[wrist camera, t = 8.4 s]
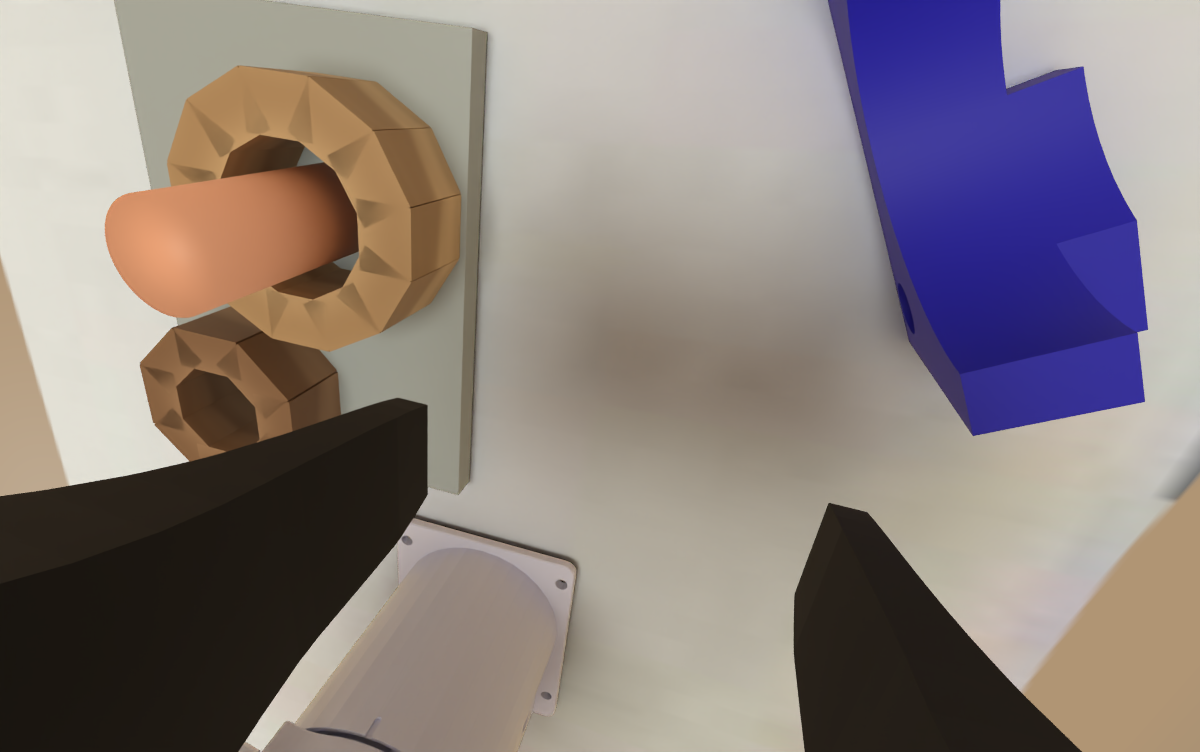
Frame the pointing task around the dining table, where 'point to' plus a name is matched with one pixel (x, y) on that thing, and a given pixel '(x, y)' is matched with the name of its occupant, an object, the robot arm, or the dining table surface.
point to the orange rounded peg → (229, 236)
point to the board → (336, 47)
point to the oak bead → (369, 176)
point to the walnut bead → (234, 385)
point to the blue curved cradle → (994, 215)
